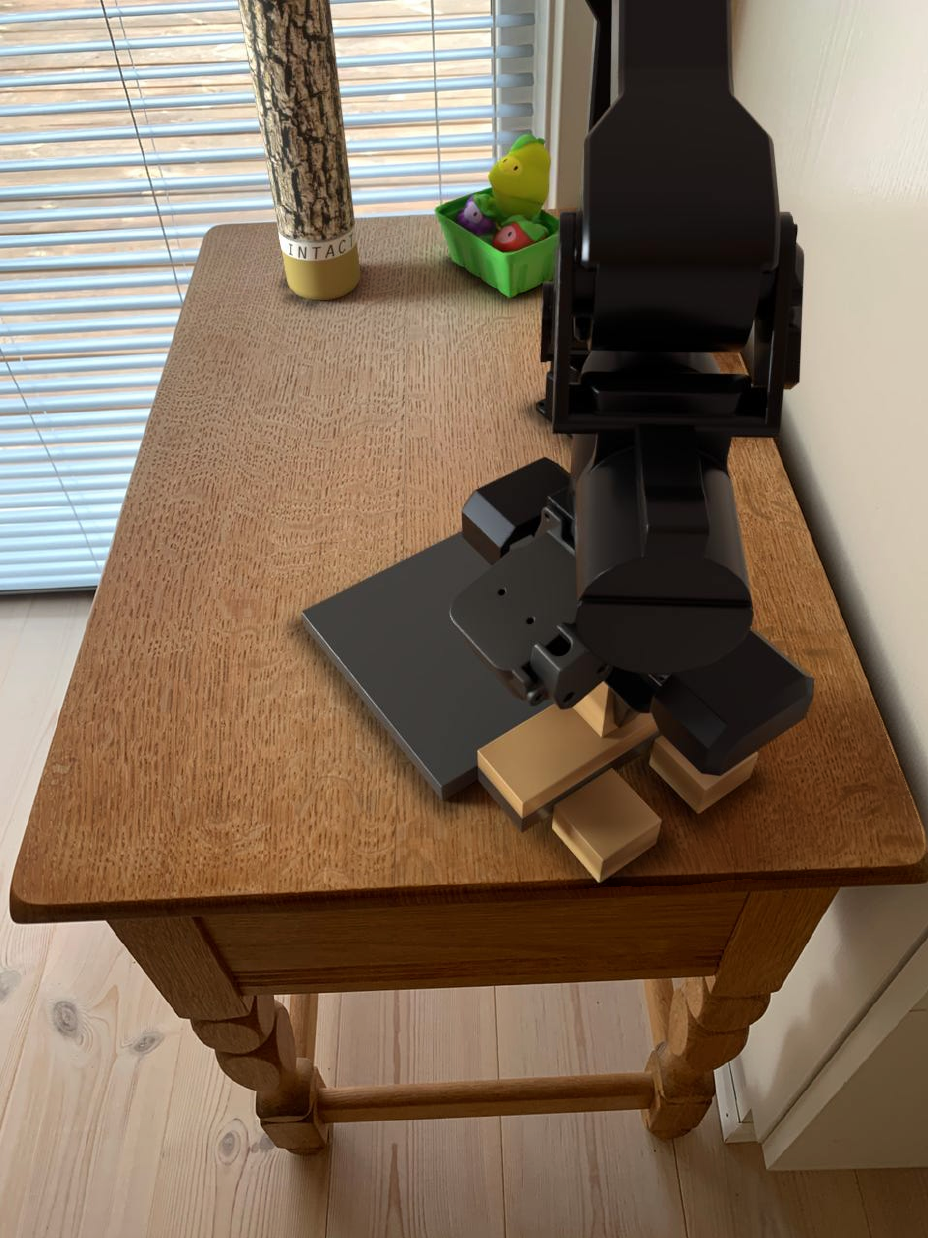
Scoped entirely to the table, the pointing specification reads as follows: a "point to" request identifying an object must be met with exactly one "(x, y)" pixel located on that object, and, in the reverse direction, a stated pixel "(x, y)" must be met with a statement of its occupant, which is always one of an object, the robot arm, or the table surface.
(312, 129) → the paper tube
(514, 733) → the brush
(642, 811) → the cork piece
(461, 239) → the fruit basket
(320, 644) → the serving board
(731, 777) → the cork piece
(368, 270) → the table surface
